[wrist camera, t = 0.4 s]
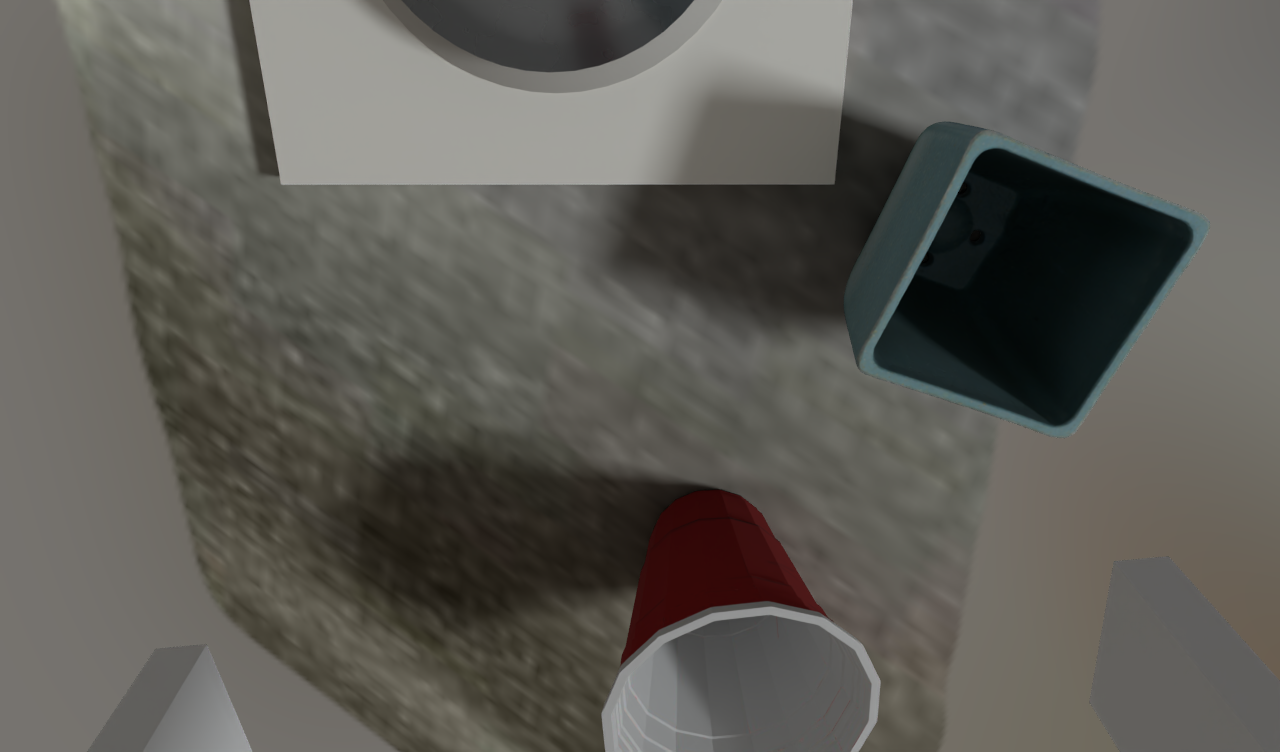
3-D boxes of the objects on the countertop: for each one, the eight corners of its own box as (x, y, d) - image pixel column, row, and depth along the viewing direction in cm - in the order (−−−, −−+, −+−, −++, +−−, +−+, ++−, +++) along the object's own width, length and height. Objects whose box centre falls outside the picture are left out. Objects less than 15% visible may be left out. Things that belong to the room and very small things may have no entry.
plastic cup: (796, 630, 46) (848, 834, 36) (593, 611, 46) (585, 813, 35) (844, 455, 42) (922, 629, 31) (620, 430, 41) (620, 599, 30)
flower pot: (979, 345, 40) (1071, 445, 31) (803, 283, 38) (851, 371, 30) (1085, 162, 36) (1220, 221, 28) (895, 85, 35) (979, 125, 26)
